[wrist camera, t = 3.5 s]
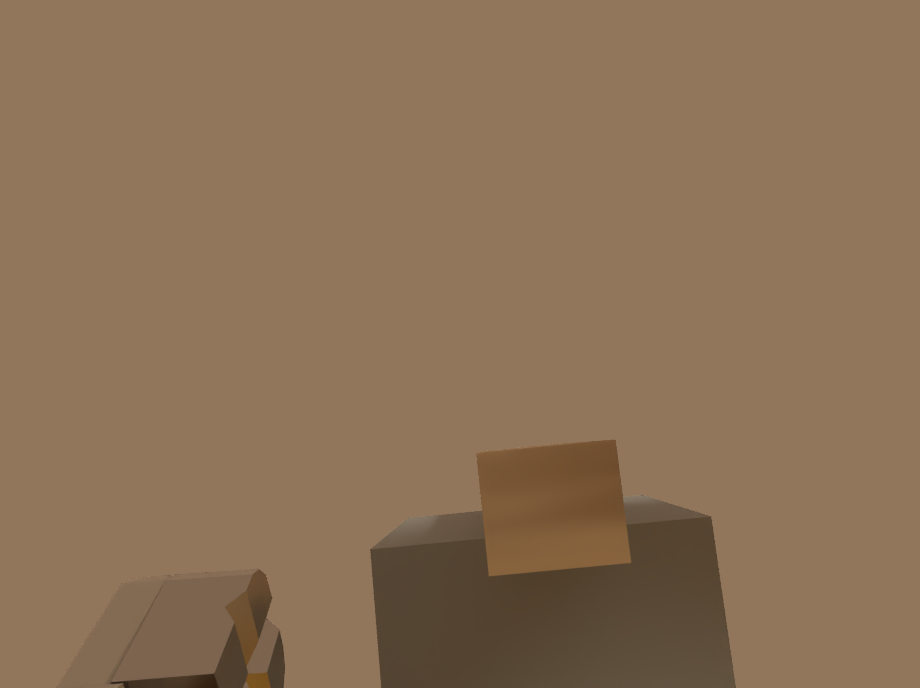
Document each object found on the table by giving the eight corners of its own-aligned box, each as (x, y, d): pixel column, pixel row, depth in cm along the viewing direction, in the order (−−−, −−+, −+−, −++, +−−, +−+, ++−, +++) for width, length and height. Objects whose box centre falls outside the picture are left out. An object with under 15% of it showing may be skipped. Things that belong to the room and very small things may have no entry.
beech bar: (490, 511, 37) (484, 451, 38) (561, 505, 37) (554, 444, 38) (488, 576, 18) (476, 453, 19) (631, 562, 18) (615, 439, 19)
